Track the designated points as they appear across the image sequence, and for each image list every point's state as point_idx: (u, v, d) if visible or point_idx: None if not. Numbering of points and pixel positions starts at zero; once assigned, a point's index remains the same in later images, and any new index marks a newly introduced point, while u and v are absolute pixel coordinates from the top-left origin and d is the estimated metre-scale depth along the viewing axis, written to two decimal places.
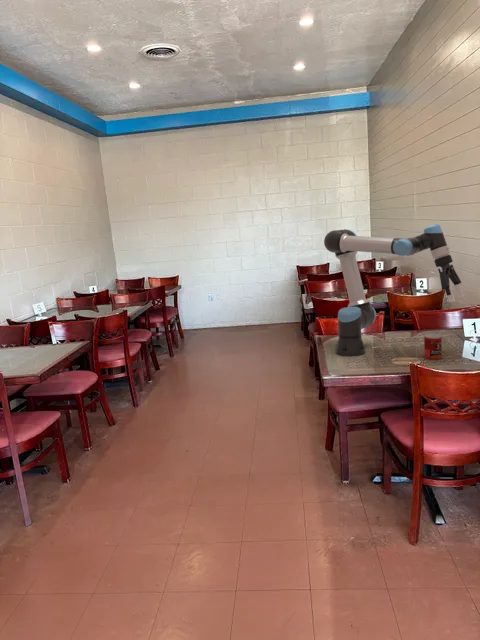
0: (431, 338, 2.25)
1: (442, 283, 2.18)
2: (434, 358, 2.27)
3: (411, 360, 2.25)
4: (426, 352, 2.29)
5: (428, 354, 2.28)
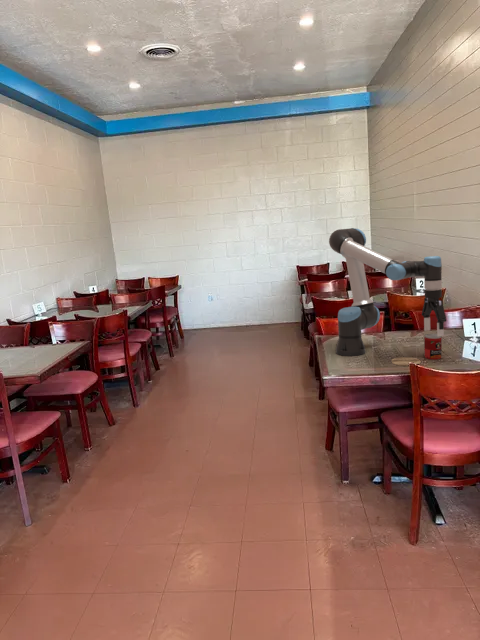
0: (431, 338, 2.25)
1: (441, 317, 2.17)
2: (434, 358, 2.27)
3: (411, 360, 2.25)
4: (426, 352, 2.29)
5: (428, 354, 2.28)
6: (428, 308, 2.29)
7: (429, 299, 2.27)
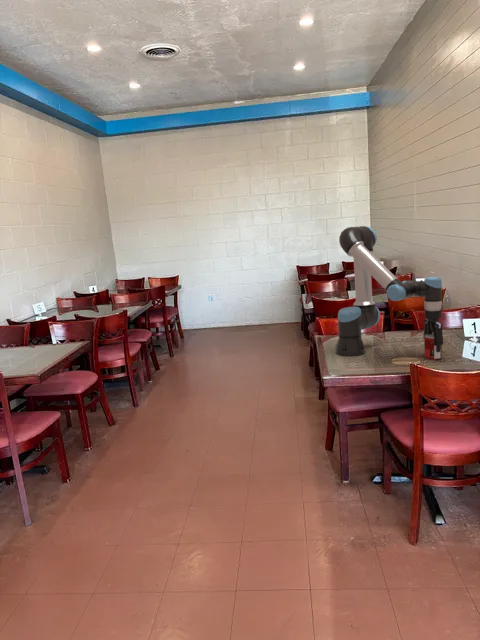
0: (431, 338, 2.25)
1: (439, 340, 2.21)
2: None
3: (411, 360, 2.25)
4: (426, 352, 2.29)
5: (428, 354, 2.28)
6: (429, 329, 2.30)
7: (429, 318, 2.29)
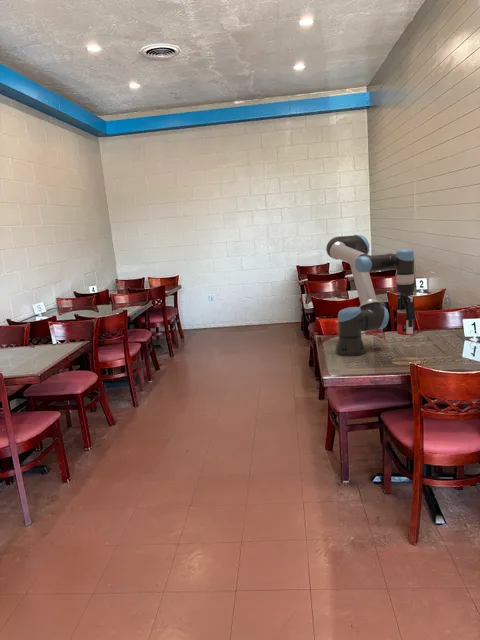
0: (403, 313, 2.18)
1: (411, 314, 2.14)
2: None
3: (411, 360, 2.25)
4: (398, 327, 2.22)
5: (400, 329, 2.21)
6: (401, 304, 2.23)
7: (401, 293, 2.22)
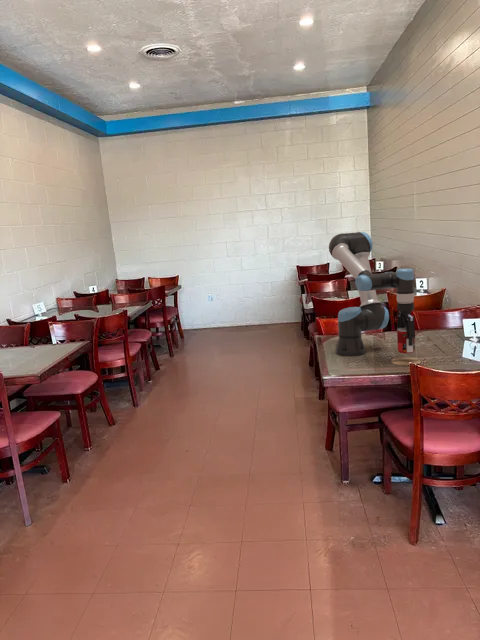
0: (403, 331, 2.20)
1: (411, 333, 2.16)
2: None
3: (411, 360, 2.25)
4: (399, 346, 2.23)
5: (401, 348, 2.22)
6: (401, 322, 2.25)
7: (401, 311, 2.23)
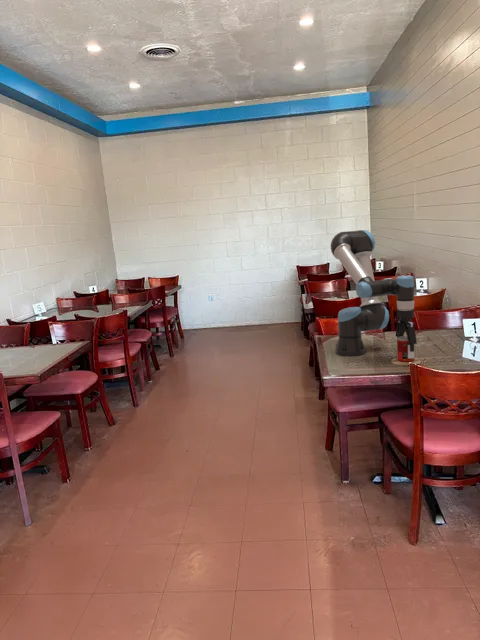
0: (403, 340, 2.21)
1: (412, 339, 2.15)
2: (406, 361, 2.22)
3: None
4: (399, 355, 2.24)
5: (401, 357, 2.23)
6: (401, 328, 2.26)
7: (401, 319, 2.24)
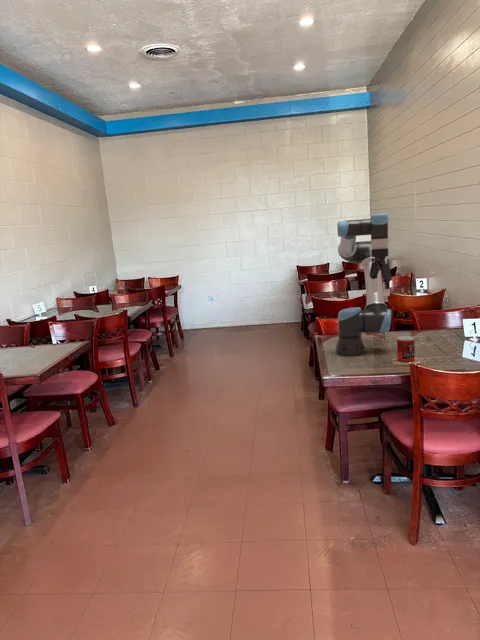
0: (403, 340, 2.21)
1: (387, 276, 2.11)
2: (406, 361, 2.22)
3: None
4: (399, 355, 2.24)
5: (400, 357, 2.23)
6: (375, 268, 2.22)
7: (376, 259, 2.20)
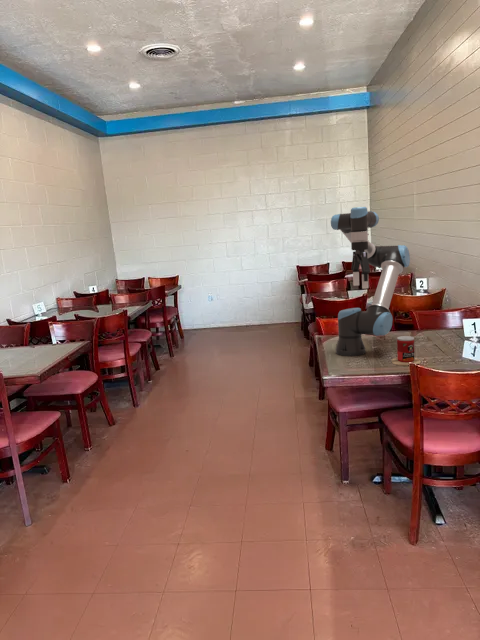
0: (403, 340, 2.21)
1: (365, 268, 2.13)
2: (406, 361, 2.22)
3: None
4: (399, 355, 2.24)
5: (401, 357, 2.23)
6: (356, 261, 2.25)
7: (356, 252, 2.23)
